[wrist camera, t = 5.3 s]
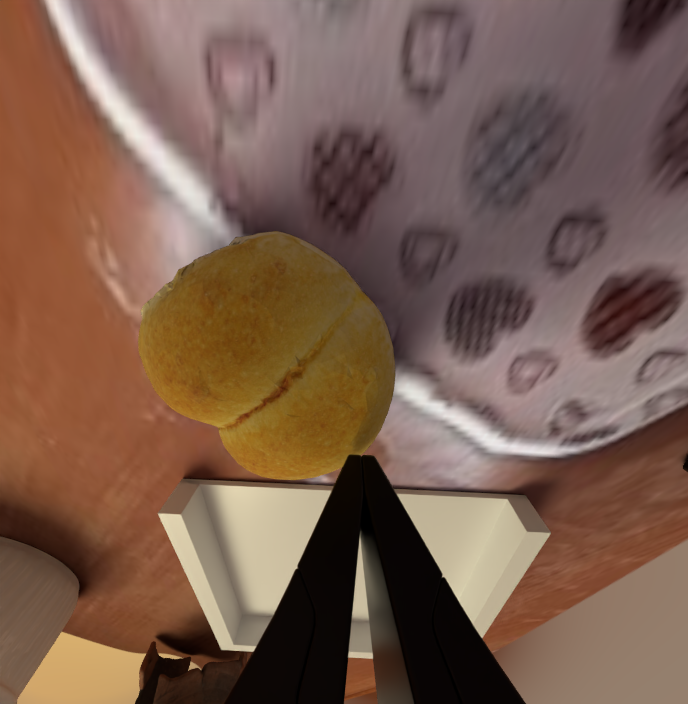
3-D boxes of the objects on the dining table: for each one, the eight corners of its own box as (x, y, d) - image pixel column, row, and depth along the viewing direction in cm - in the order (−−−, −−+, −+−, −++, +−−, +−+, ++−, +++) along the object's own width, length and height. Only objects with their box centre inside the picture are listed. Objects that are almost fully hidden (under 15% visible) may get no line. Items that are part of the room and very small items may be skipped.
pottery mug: (131, 623, 24) (85, 768, 16) (237, 573, 27) (239, 672, 20) (162, 706, 26) (134, 863, 19) (255, 650, 30) (262, 763, 22)
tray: (525, 495, 14) (550, 532, 12) (455, 628, 22) (465, 663, 20) (182, 478, 14) (157, 513, 13) (232, 616, 22) (221, 649, 20)
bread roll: (290, 460, 13) (260, 547, 9) (150, 326, 10) (31, 371, 7) (433, 384, 10) (471, 460, 7) (296, 184, 8) (239, 132, 4)
